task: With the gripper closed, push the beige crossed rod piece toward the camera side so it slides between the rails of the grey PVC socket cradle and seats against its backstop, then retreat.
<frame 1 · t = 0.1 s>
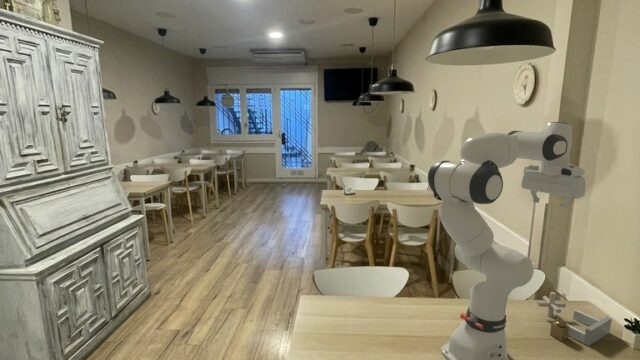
hand: (549, 205, 125), 48 cm above the table, fingers open, 8 cm apart
socket cradle: (579, 329, 130), on the table
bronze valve: (558, 336, 126), on the table
beige crossed rod piece: (550, 316, 139), on the table
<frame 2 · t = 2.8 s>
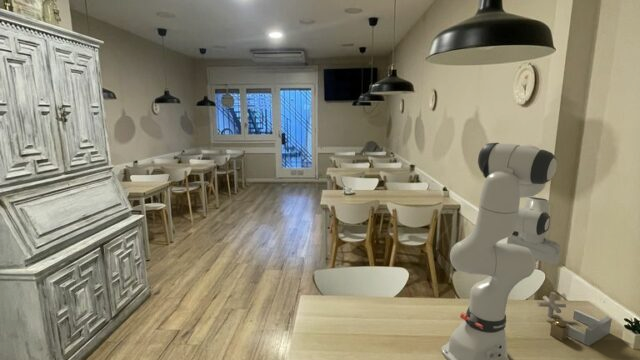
hand: (530, 266, 145), 17 cm above the table, fingers closed
nothing on the table moved.
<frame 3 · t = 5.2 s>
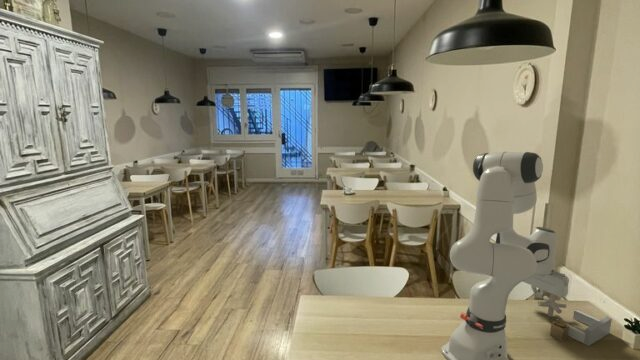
hand: (537, 296, 143), 6 cm above the table, fingers closed
beige crossed rod piece: (550, 316, 139), on the table, touching gripper
everything else where it was.
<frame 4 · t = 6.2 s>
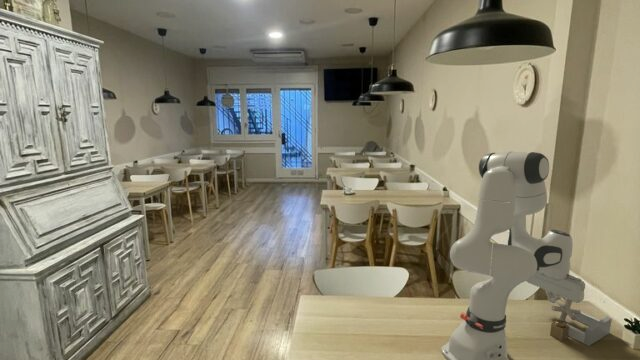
hand: (551, 301, 139), 6 cm above the table, fingers closed
beige crossed rod piece: (561, 320, 136), on the table, touching gripper
everything else where it was.
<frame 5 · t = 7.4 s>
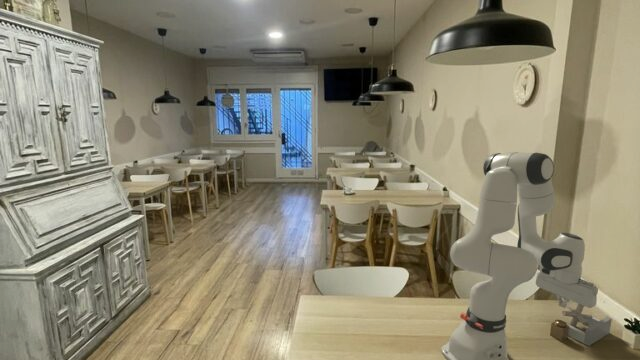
hand: (562, 306, 135), 6 cm above the table, fingers closed
beige crossed rod piece: (572, 326, 133), on the table, touching gripper
everything else where it was.
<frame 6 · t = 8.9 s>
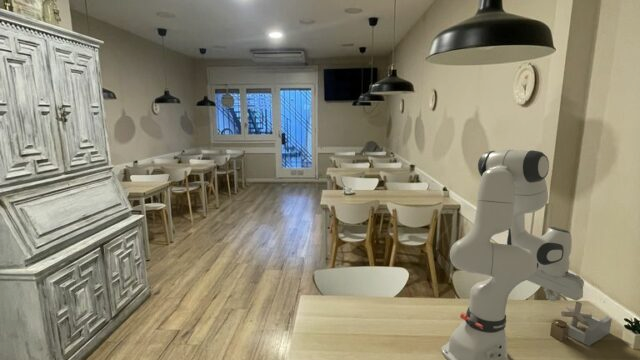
hand: (550, 299, 138), 7 cm above the table, fingers closed
beige crossed rod piece: (573, 326, 132), on the table
everything else where it was.
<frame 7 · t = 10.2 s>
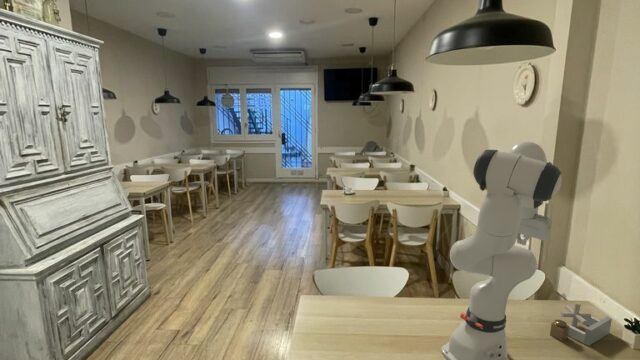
hand: (521, 244, 140), 29 cm above the table, fingers closed
nothing on the table moved.
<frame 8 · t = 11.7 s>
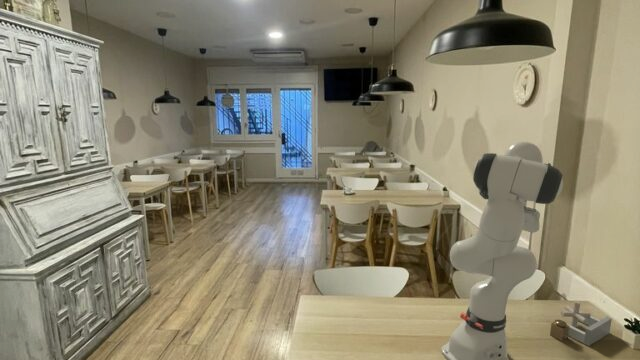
hand: (510, 236, 141), 31 cm above the table, fingers closed
nothing on the table moved.
at the end: beige crossed rod piece inside the target area (2.2 cm from its centre), on the table; beige crossed rod piece moved 8.5 cm from its start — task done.
